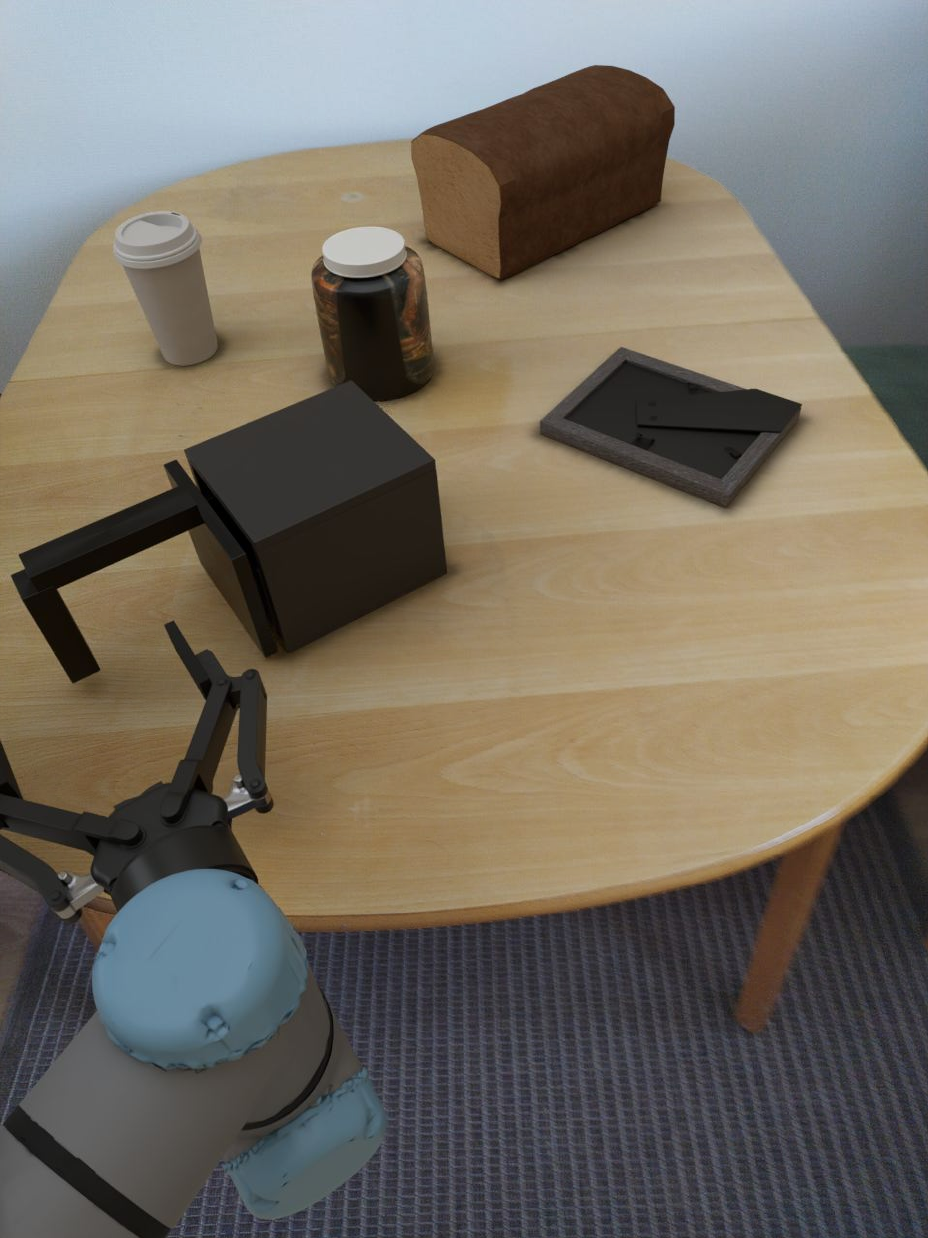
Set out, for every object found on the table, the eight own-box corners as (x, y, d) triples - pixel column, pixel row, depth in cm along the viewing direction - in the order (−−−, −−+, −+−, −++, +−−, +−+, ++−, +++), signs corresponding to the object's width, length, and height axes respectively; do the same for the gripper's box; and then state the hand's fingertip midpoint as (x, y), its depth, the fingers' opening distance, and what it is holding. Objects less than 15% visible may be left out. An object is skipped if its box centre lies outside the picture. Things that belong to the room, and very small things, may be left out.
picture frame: (798, 420, 97) (620, 358, 106) (802, 403, 95) (621, 343, 104) (726, 508, 89) (539, 433, 98) (729, 491, 87) (539, 417, 96)
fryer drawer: (102, 741, 74) (34, 632, 64) (49, 633, 82) (-18, 520, 72) (426, 576, 84) (411, 459, 74) (351, 494, 92) (328, 378, 82)
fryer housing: (288, 654, 80) (254, 543, 70) (222, 560, 88) (183, 449, 78) (447, 573, 85) (435, 459, 75) (371, 491, 93) (351, 379, 84)
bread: (669, 206, 129) (682, 78, 117) (505, 287, 118) (500, 154, 106) (576, 168, 139) (580, 46, 127) (416, 239, 127) (403, 112, 115)
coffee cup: (244, 353, 111) (211, 229, 100) (168, 383, 108) (125, 259, 97) (211, 319, 117) (176, 198, 106) (138, 347, 114) (94, 225, 102)
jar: (351, 414, 102) (328, 285, 91) (315, 361, 109) (290, 236, 98) (450, 382, 105) (439, 253, 94) (409, 332, 112) (394, 207, 101)
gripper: (8, 1074, 52) (-75, 799, 64) (399, 836, 60) (258, 633, 72) (-57, 1027, 46) (-134, 736, 58) (383, 771, 54) (233, 563, 67)
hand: (82, 679), depth 65 cm, fingers open, 13 cm apart
